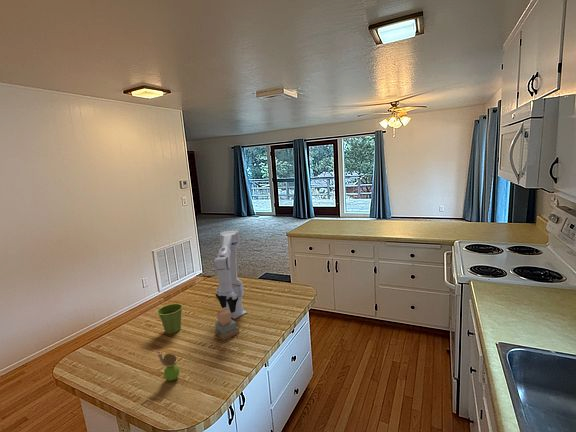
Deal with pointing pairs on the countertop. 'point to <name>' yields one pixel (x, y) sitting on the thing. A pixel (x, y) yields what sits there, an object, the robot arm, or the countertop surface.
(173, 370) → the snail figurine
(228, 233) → the robot arm
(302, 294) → the countertop surface
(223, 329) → the top slab
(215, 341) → the countertop surface
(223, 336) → the base slab
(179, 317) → the plant pot
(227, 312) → the terracotta block
